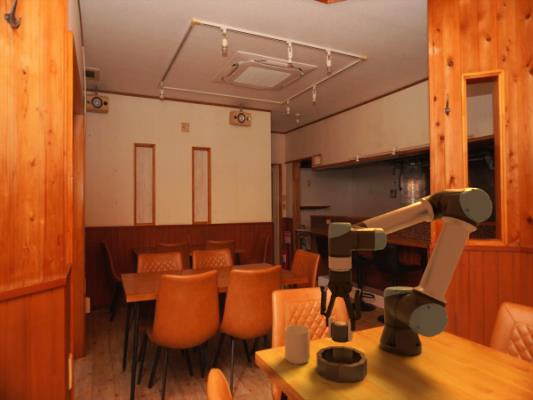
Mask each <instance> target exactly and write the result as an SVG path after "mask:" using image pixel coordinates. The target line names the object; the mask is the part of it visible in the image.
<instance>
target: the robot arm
mask: <svg viewBox="0 0 533 400" xmlns="http://www.w3.org/2000/svg"><path fill="white" fill-rule="evenodd" d="M492 213H493V202H492V200H491V198H490V195H489V194H488V193H487V192H486V191H485V190H483V189H481V188H477V187H465V188H446V189H443V190H440V191H437V192H434V193H431V194H430V195H426V196H424V197H422V198H419V199H418V200H417V202H414V203H412V204H409V205H406V206H403V207H400V208H397V209H395V210H391V211H389V212H386V213H384V214H381V215H377V216H374V217H372V218H369V219H368V218H367V219H365V220H363V221H360V222H358V223H355V224H351V223H350V222H331V223H329V224H328V232H327V239H328V243H327V244H328V268H329V269H328V281H327V284H322V285H320V286H319V289H320V293H321V294H320V308H319V309H320V311H319V313H320V316H324V318H325V327H326V328H328V339H332V336H331V323H332V322H334V316H333V315H332V312H333V310H334V306H335V303H336V299H337V298H341V299H343V301H344V303H345V308H346V310H347V313H348V317H349V319H348V321H347V323H348V341H349V342H352V341H353V336H354V335H353V333H354V332H355V331H356V322H357V321H360V320H361V318H362V309H361V306H362V305H361V293H362V289H361V288H357V287H354V285H353V282H352V281H353V277H352V275H353V273H352V271H353V270H352V257H353V256H352V251H353V252H356V251H379V250H381V251H382V250H384V249H385V248H386V246H387V240H388V239H387V237H388V236H387V235H388V234H391V233H395V232H397V231H400V230H402V229H405V228H408V227H411V226H414V225H417V224H419V223H422V222H426V223H430V222H433V221H438V220H441V221H442V222H443V223H442V224H443V226H442V228H441V231H440V233H439V235H438V238H437V240H436V243H435V245H434V248H433V250H432V252H431V255H430V257H429V260H428V263H427V265H426V267H425V270H424V272H423V274H422V277H421V280H420V282H419V285H418V286H415V287H412V286H411V287H410V286H389V287H386V288H385V289H384V290H383V296H382V297H383V317H384V320H383V321H384V322H383V323H384V324H383V329H382V331H381V335H380V338H379V347H380V349H382V350H383V351H385V352H388V353H390V354H393V355H394V354H395V355H399V356H415V355H420V354H421V353H422V351H423V344H422V341H421V337H420V336H422V337H425V338H433V337H435V336H438V335H440V334H442V333H443V332H444V330H445V329H446V328H447V326H448V324H449V323H448V322H449V316H448V313H447V310H446V307H447V305H448V304H447V303H448V302H447V300H446V298H445V296H446V293H447V291H448V288H449V286H450V283H451V281H452V278H453V276H454V273H455V271H456V269H457V265H458V263H459V261H460V258H461V256H462V253H463V251H464V249H465V246H466V243H467V241H468V238H469V236H470V234H471V233H474V232H475V231H477V229H478V227H479V225H480V223H482V222H485V221H487V220H488V219H489V218H490V217H491V215H492ZM328 291H330V293H331V294H330V299H329V302H328V306H327V300H328V299H327V297H328ZM351 292H352V295H354V296H353V297H354V306H353V304H352V300H351V296H350V294H351ZM353 307H354V308H353Z"/></svg>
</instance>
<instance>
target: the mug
mask: <svg viewBox="0 0 533 400" xmlns="http://www.w3.org/2000/svg"><path fill="white" fill-rule="evenodd" d="M310 329H311V328H310V327H309V326H306V325H304V324H291V325H288V326H286V327H284V357H285V359H286V360H287V362H288V363H290V364H293V365H303V364H306V363H308V361H310V358H311V344H310V343H311V341H310V340H311V339H310V338H311V337H310V336H311V333H310Z"/></svg>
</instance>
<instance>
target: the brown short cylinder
mask: <svg viewBox="0 0 533 400" xmlns="http://www.w3.org/2000/svg"><path fill="white" fill-rule="evenodd" d="M331 336H332V337H331V341H332V342H335V343H339V344H343V343H348V342H349V341H348V321H341V320H340V321H339V320H337V321H333V322H332V323H331Z"/></svg>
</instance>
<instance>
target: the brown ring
mask: <svg viewBox="0 0 533 400" xmlns="http://www.w3.org/2000/svg"><path fill="white" fill-rule="evenodd" d="M315 357H316V360H315V361H316V371H317V374H318V375H319V376H320V377H322V378H323V379H325V380H327V381H331V382H335V383H338V384H339V383H340V384H346V383H348V384H352V383H356V382H360V381H363V380H364V379H365V377H366V376H367V375H368V358H367V356H366V353H365V352H362V351H361V350H359V349H357V348H354V347H349V346H345V345H342V346H341V345H338V346H337V345H333V346H332V345H331V346H327V347H323V348H320V349H319V350H318V351H317V352H316V356H315ZM339 363H344V364H339Z"/></svg>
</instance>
